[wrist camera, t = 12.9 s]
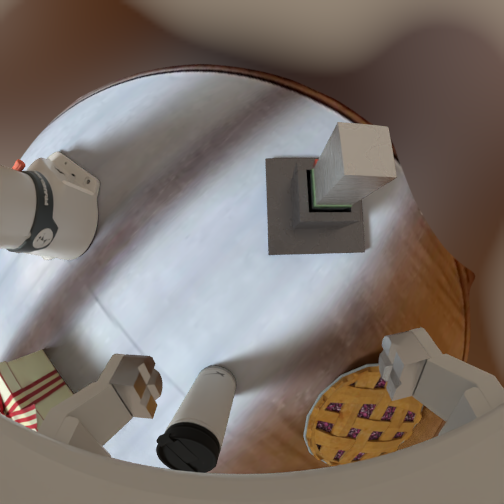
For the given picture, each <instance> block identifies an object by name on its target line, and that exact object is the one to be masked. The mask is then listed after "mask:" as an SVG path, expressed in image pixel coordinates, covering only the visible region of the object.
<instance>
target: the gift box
mask: <svg viewBox="0 0 504 504" xmlns="http://www.w3.org/2000/svg"><path fill="white" fill-rule="evenodd" d="M72 395H74V394H73V393H72V391H71V390H70V389H69V387H68V386H67V385H66V383H65V382H64V380H63V379H62V378H61V376H60V375H59V373H58V372H57V370H56V369H55V368H54V366H53V364H52V363H51V361H50V360H49V358H48V357H47V355H46V354H45V352H44V351H43V350H40V351H37V352H35V353H32V354H29V355H26V356H24V357H21V358H19V359H16V360H13V361H10V362H6V361H4V362H1V363H0V413H1V414H3V415H5V416H6V417H8V418H10V419H12V420H14V421H16V422H18V423H20V424H22V425H24V426H26V427H28V428H30V429H32V430H34V431H38V429H39V428H40V426H41V424H42V422H43V421H44V419H45V417H46V415H47V414H48V412H49V410H50V409H51V408H53V407H54V406H56V405H58V404H59V403H61V402H62V401H64V400H66V399H67V398H69V397H70V396H72Z"/></svg>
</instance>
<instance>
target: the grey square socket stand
mask: <svg viewBox="0 0 504 504" xmlns="http://www.w3.org/2000/svg"><path fill="white" fill-rule="evenodd" d="M318 159H319V158H272V159H266V186H267V216H268V251H269V255H285V254H323V253H359V252H364V229H363V212H362V199H361V200H359V201H358V202H356V203H354V204H353V205H352V207H350V208H346V209H345V210H343V211H341V212H309V205H308V188H307V180H308V178H309V176H310V174H311V170H312V169H314V167H315V165H316V163H317V161H318Z"/></svg>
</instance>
